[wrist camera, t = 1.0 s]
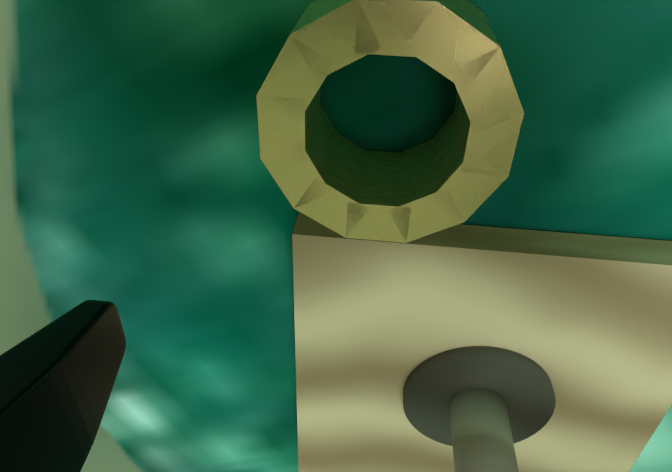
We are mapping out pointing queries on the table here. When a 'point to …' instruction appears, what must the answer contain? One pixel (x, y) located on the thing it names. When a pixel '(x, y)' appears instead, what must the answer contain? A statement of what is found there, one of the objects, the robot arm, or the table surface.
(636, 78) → the table surface
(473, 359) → the stand
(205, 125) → the table surface
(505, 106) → the ring
